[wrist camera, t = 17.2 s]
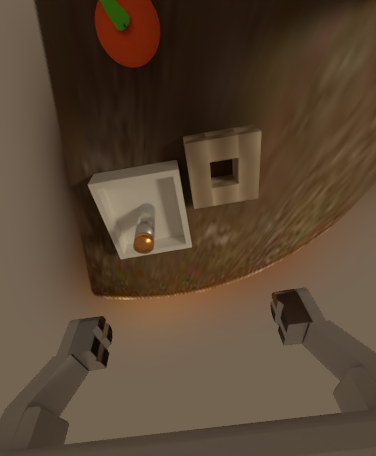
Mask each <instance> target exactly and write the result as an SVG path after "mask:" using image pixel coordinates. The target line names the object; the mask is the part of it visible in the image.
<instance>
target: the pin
mask: <svg viewBox="0 0 376 456" xmlns="http://www.w3.org/2000/svg"><path fill="white" fill-rule="evenodd" d="M155 211H156V210H155V207H154V206H153V205H151V204H149V203H145V204H142V205H141V206H140V207H139V212H138V218H137V225H136V231H135V238H134V244H133V247H134V249H135V251H136V252H138V253H141V254H147V253H150V252H151V251H152V250H153V248H154V233H155Z"/></svg>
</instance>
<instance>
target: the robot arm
mask: <svg viewBox="0 0 376 456" xmlns="http://www.w3.org/2000/svg"><path fill="white" fill-rule="evenodd" d="M272 299H273V301H272V302H271V313H272V316H273V319H274V321H275V323H277V324H278V325H279V329H278V332H279V335H280V337H281V340H282V342H283V345H292V344H302V343H303V345H304V346H305V347H306V348H307V349H308V350H309V351H310V352H311V353H312V354H313V355H314V356H315V357H316V358H317V359H318V360H319V361H320V362H321V363H322V364H323V365H324V366H325V367H326V368H327V369H329V370H330V371H331V372H332V373H333V374H334V375H335V376H336V377H337V378H338V379H339V380H340V383H339V384H338V386H337V387H336V388H335V390H334V392H333V395H334V397H335V399H336V401H337V403H338V405H339V408H340V410H341V412H342V413H336V414H327V415H318V416H309V417H300V418H292V419H284V420H275V421H266V422H257V423H248V424H239V425H230V426H222V427H214V428H205V429H196V430H187V431H179V432H170V433H161V434H152V435H144V436H134V437H126V438H117V439H108V440H99V441H91V442H82V443H73V444H64V442H65V438H66V435H67V431H68V426H69V423H68V422H67V421H66V420H64V419H62V418H60V417H59V416H60V415H61V413H62V412H63V410H64V409H65V407H66V406H67V404H68V403H69V401H70V400H71V398H72V397H73V395H74V394H75V392H76V391H77V389H78V388H79V386H80V385H81V383H82V382H83V380H84V379H85V377H86V376H87V374H88V373H89V371H91V370H98V369H104V368H106V367H107V362H108V357H109V352H108V350H107V348H108V347H109V346H110V345H111V342H112V329H111V326H110V325H109V324H107V323H105V322H106V319H105V318H104V317H103V316H100V317H93V318H85V319H77V320H72V321H70V323H69V324H68V326H67V329H66V332H65V334H64V337H63V340H62V342H61V345H60V347H59V350H58V353H57V356H55V357H53V358H52V359H51V360H50V361H49V362H48V363H47V364H46V365H45V366H44V367H43V368H42V370H41V371H40V372H39V373H38V374H37V375H36V376H35V377H34V378H33V379H32V380H31V381H30V383H29V384H28V385H27V386H26V387H25V388H24V389H23V390H22V391H21V392H20V393H19V395H18V396H17V397H16V398H15V399H14V400H13V401H12V402H11V403H10V404H9V405H8V406H7V408H6V409H5V410H4V413H3V415H2V417H1V419H0V456H376V353H375V352H374V351H372V350H371V349H370V348H368V347H367V346H365V345H364V344H362V343H361V342H359V341H358V340H357V339H355V338H354V337H352V336H351V335H350V334H348V333H347V332H345V331H344V330H343V329H341V328H340V327H338V326H337V325H335V324H334V323H333V322H331V321H326V320H325V318H324V316H323V314H322V313H321V311H320V309H319V307H318V306H317V304H316V302H315V301H314V299H313V297H312V295H311V294H310V292H309V290H308V289H306V288H300V289H291V290H284V291H279V292H273V293H272Z"/></svg>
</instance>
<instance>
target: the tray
mask: <svg viewBox="0 0 376 456" xmlns="http://www.w3.org/2000/svg"><path fill="white" fill-rule="evenodd" d="M88 187H89V189H90V192H91V194H92V196H93V198H94V201H95V203H96V205H97V207H98V209H99V212H100V214H101V216H102V218H103V221H104V223H105V225H106V227H107V230H108V232H109V234H110V236H111V239H112V241H113V243H114V245H115V248H116V250H117V252H118V254H119V256H120V259H125V258H131V257H137V256H143V255H149V254H155V253H161V252H167V251H172V250H178V249H184V248H190V247H192V244H191V238H190V232H189V226H188V220H187V214H186V209H185V203H184V197H183V191H182V186H181V180H180V174H179V168H178V163H177V160H173V161H167V162H161V163H155V164H149V165H144V166H138V167H132V168H126V169H120V170H115V171H109V172H103V173H97V174H93V176H92V178H91V180H90V181H89V183H88ZM145 203H149V204H151V205H153V206H154V207H155V210H156V211H155V233H154V248H153V250H152V251H151V252H150V253H147V254H141V253H138V252H136V251H135V249H134V247H133V244H134V238H135V231H136V225H137V218H138V212H139V207H140V206H141V205H142V204H145Z"/></svg>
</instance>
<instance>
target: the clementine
mask: <svg viewBox="0 0 376 456" xmlns="http://www.w3.org/2000/svg"><path fill="white" fill-rule="evenodd" d="M95 27H96V31H97V36H98V38H99V40H100V43H101V45H102V47H103V48H104V49H105V51H106V52H107V54H108V55H109V56H110V57H111V58H112V59H113V60H114V61H116V62H117V63H119V64H121V65H123V66H126V67H131V68H132V67H140V66H142V65H145V64H146V63H148V62H149V61H150V60H151V59H152V58H153V56H154V55H155V53H156V51H157V49H158V46H159V42H160V33H161V32H160V22H159V18H158V15H157V12H156V9H155V8H154V6H153V4H152V2H151V0H98V2H97V6H96V10H95Z"/></svg>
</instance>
